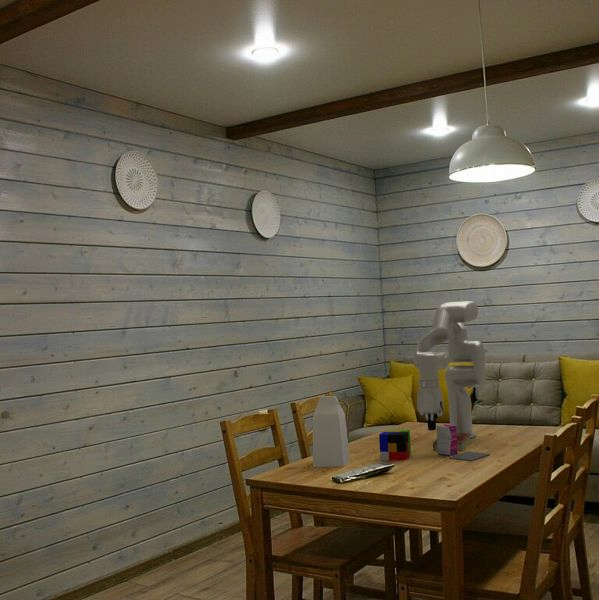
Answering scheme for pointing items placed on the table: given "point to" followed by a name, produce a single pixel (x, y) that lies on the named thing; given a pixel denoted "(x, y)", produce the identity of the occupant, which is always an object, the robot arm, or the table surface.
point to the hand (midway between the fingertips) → (432, 430)
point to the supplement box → (446, 440)
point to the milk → (329, 434)
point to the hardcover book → (458, 441)
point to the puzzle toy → (395, 445)
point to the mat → (469, 456)
